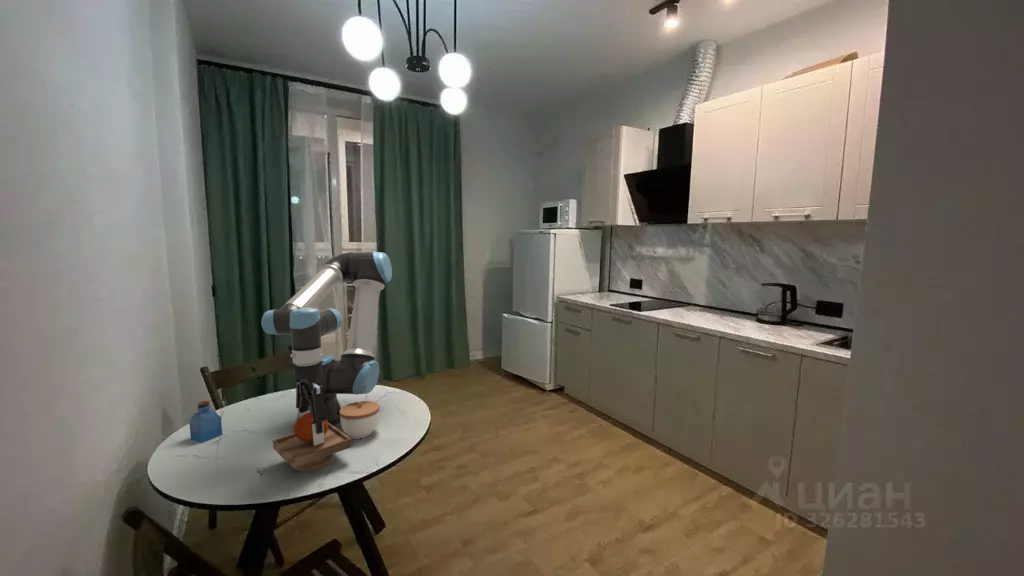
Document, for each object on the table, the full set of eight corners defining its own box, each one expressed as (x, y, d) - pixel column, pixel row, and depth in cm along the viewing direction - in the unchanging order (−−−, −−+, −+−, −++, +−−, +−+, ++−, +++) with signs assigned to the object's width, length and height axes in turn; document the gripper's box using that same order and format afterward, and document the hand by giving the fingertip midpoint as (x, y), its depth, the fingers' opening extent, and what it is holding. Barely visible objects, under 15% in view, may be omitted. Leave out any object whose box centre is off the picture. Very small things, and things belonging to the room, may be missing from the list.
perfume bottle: (222, 435, 137) (219, 400, 136) (201, 443, 131) (198, 407, 130) (211, 431, 139) (208, 397, 138) (190, 439, 134) (187, 404, 133)
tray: (274, 463, 119) (272, 440, 118) (329, 443, 130) (328, 422, 129) (294, 484, 108) (292, 459, 107) (352, 461, 119) (351, 438, 118)
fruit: (335, 436, 120) (334, 410, 119) (306, 449, 112) (304, 421, 111) (318, 429, 124) (316, 404, 124) (289, 441, 117) (287, 414, 116)
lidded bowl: (357, 446, 128) (355, 413, 127) (332, 437, 135) (330, 404, 134) (388, 431, 139) (387, 399, 138) (364, 422, 145) (363, 393, 144)
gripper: (280, 358, 120) (285, 431, 123) (308, 373, 106) (313, 455, 108) (307, 353, 126) (311, 423, 128) (337, 367, 111) (341, 445, 114)
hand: (312, 438), depth 118 cm, fingers closed on fruit, 9 cm apart
